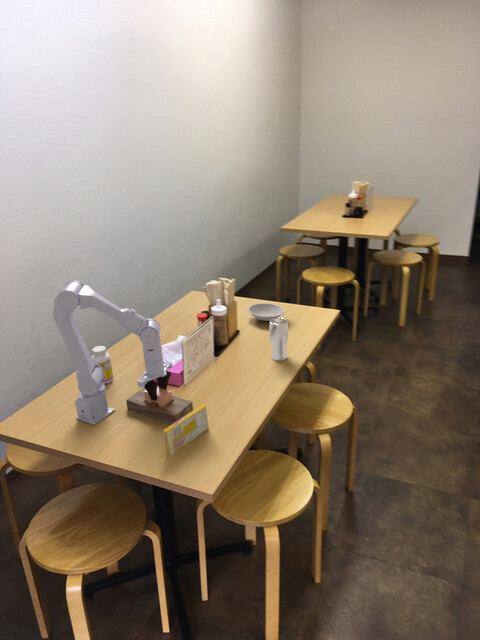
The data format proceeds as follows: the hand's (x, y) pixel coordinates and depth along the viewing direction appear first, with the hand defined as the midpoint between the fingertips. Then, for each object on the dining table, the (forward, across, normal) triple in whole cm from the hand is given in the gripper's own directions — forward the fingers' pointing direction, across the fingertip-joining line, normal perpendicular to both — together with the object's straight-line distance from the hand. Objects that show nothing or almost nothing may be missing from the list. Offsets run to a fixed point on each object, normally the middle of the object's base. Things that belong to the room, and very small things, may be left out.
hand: (158, 396), depth 172 cm
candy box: (+6, -9, -18) cm, 21 cm away
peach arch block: (+4, 0, 0) cm, 4 cm away
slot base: (+5, 0, 0) cm, 5 cm away
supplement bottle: (+5, +6, +31) cm, 32 cm away
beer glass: (+6, +50, -17) cm, 53 cm away
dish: (+6, +79, +5) cm, 79 cm away
